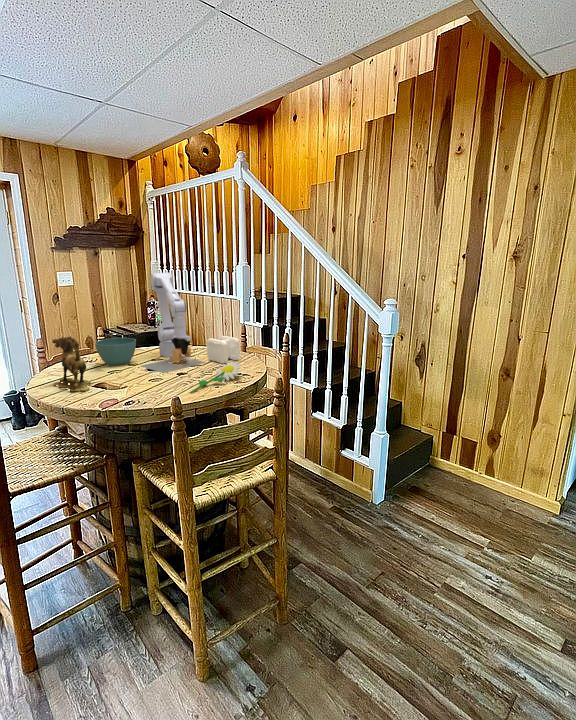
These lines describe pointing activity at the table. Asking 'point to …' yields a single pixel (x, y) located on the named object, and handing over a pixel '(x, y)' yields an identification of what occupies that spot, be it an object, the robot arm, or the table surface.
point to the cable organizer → (223, 349)
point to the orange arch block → (179, 354)
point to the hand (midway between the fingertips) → (181, 353)
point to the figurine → (71, 365)
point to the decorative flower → (222, 374)
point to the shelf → (168, 367)
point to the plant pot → (116, 350)
